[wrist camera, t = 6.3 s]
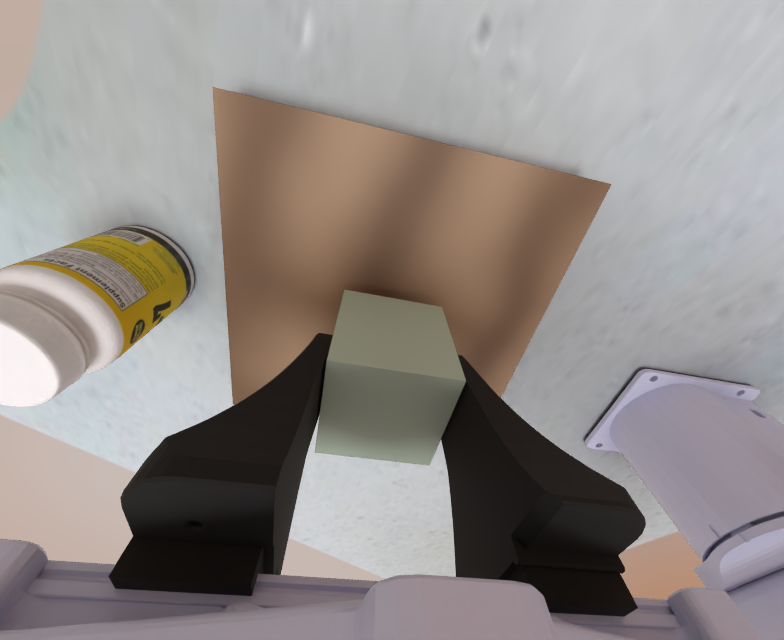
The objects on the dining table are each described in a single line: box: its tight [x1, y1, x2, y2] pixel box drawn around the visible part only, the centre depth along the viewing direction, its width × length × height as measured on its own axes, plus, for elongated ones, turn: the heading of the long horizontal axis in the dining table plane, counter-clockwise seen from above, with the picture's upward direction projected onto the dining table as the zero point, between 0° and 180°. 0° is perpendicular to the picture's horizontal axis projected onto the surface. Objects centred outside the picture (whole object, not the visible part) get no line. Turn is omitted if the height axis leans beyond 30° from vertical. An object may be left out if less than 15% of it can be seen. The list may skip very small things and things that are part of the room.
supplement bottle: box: [0, 226, 194, 407], centre depth 14 cm, size 5×5×8 cm
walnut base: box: [213, 87, 611, 415], centre depth 17 cm, size 16×16×2 cm
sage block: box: [315, 290, 466, 465], centre depth 13 cm, size 4×4×5 cm
